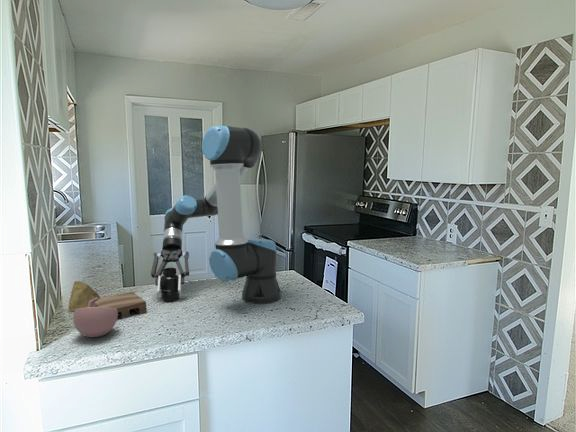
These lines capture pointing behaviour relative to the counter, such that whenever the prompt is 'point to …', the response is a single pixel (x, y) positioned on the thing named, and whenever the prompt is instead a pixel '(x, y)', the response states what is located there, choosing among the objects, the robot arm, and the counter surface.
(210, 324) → the counter surface
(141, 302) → the block
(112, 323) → the mortar and pestle
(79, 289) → the rock
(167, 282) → the supplement bottle
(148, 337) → the counter surface
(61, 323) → the counter surface
